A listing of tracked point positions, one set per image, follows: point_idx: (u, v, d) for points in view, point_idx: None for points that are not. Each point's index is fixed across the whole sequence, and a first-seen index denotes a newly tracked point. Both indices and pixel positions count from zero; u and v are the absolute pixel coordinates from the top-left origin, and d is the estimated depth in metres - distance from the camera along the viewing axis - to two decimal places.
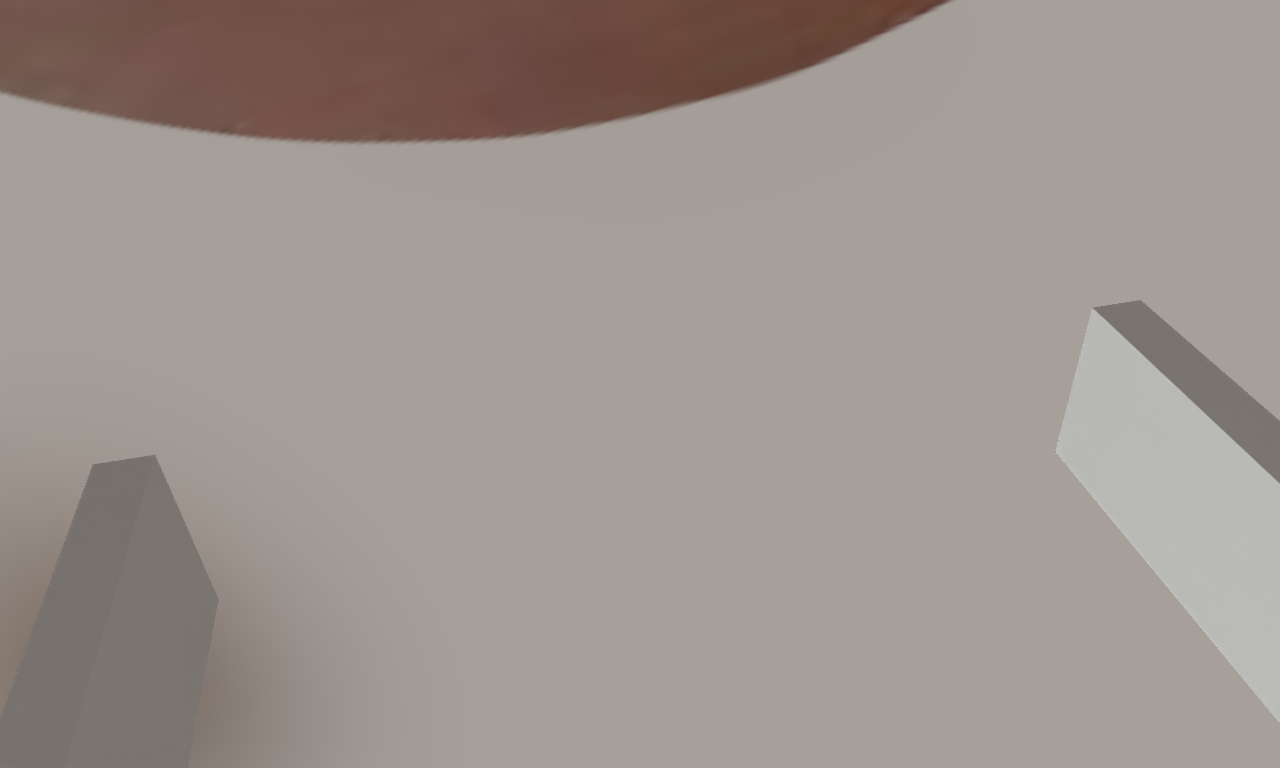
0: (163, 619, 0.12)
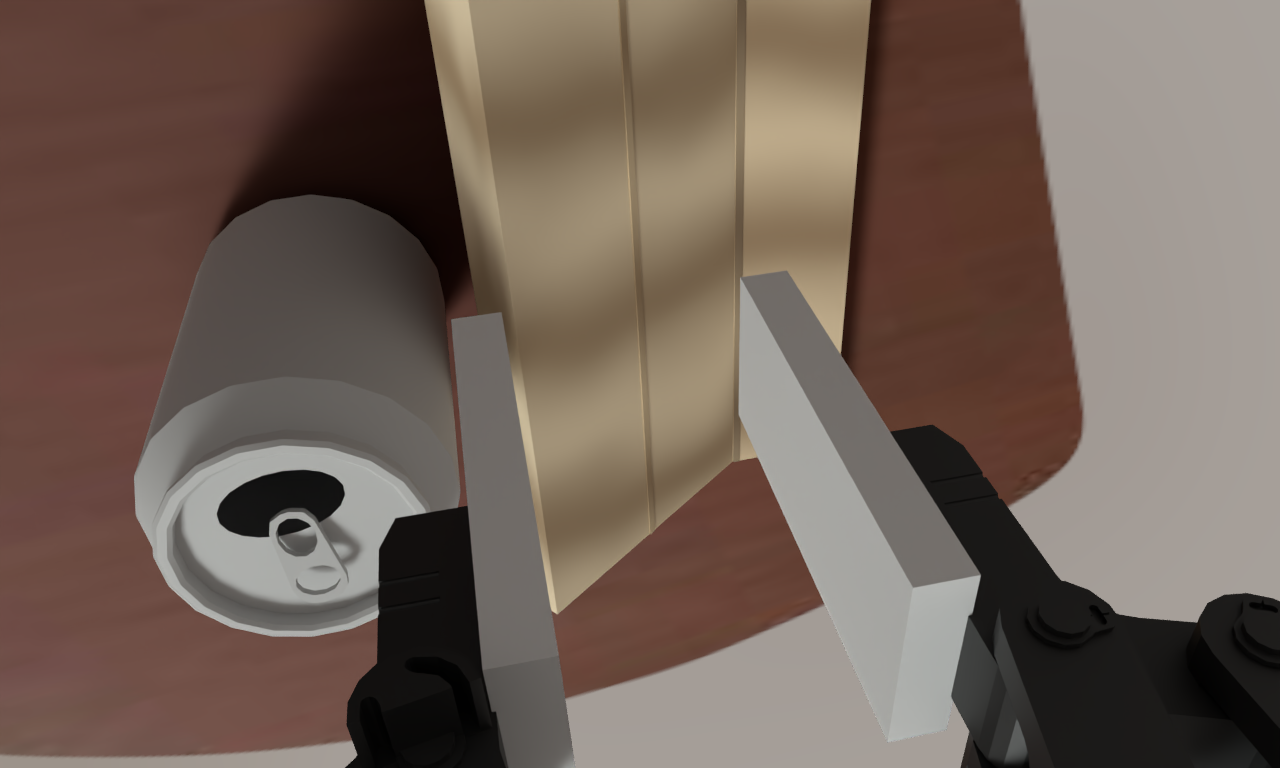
0: None
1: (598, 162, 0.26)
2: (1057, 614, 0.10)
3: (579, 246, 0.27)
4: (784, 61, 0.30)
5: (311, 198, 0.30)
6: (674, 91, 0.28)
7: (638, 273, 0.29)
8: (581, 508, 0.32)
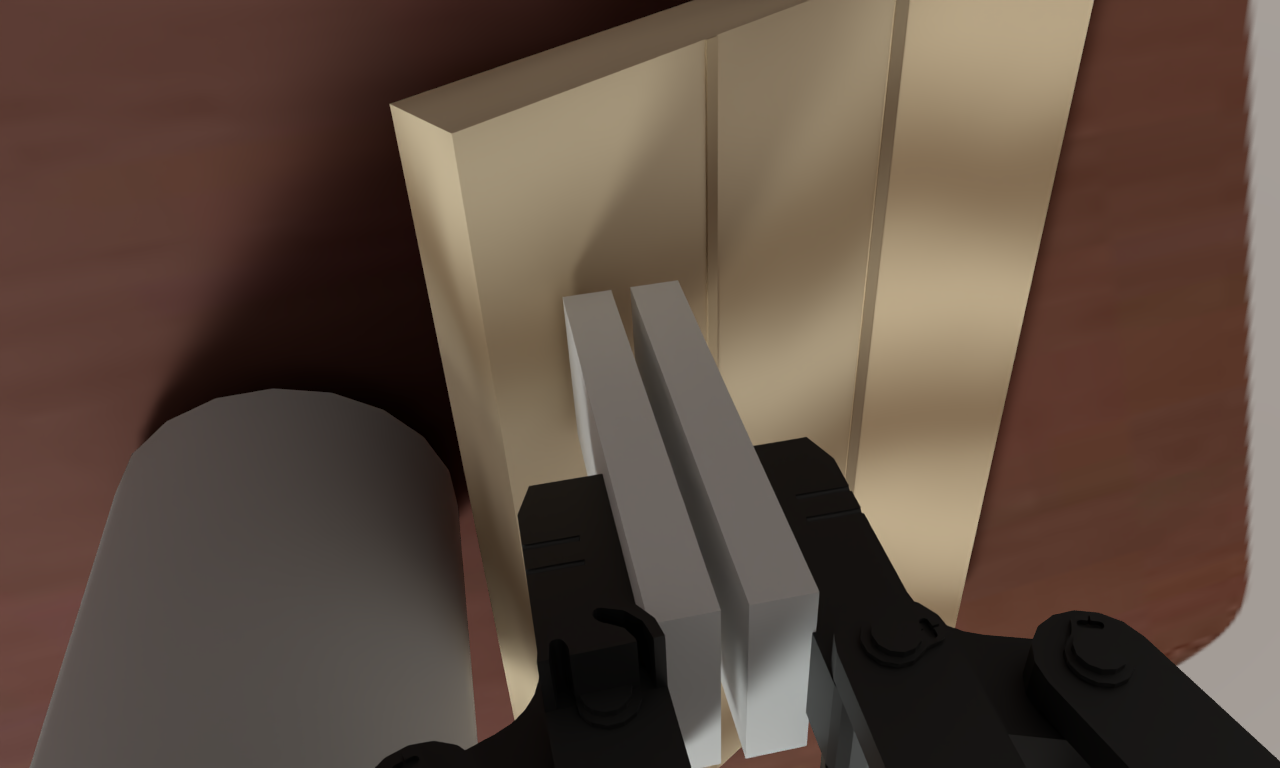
0: None
1: None
2: (889, 633, 0.10)
3: None
4: (939, 204, 0.21)
5: (273, 396, 0.21)
6: (781, 257, 0.19)
7: None
8: None
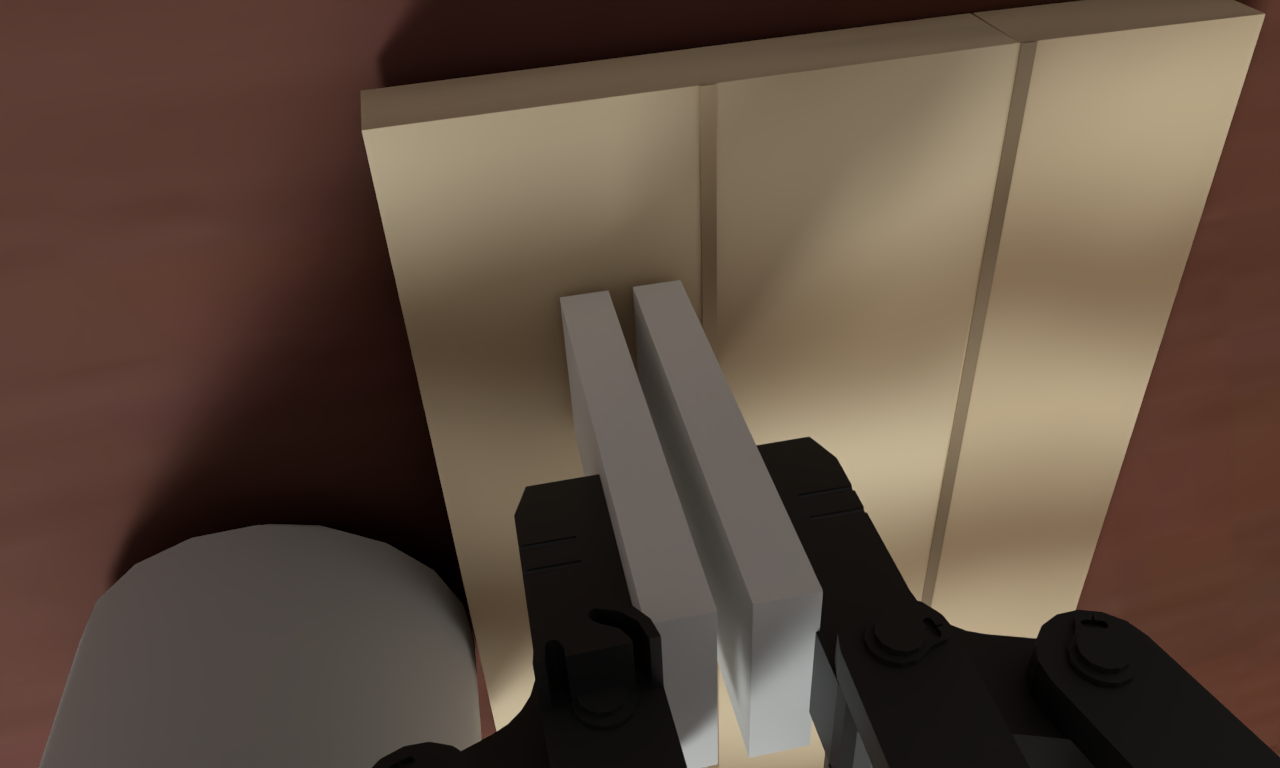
0: None
1: None
2: (893, 632, 0.10)
3: None
4: (1048, 307, 0.18)
5: (257, 535, 0.18)
6: (818, 338, 0.17)
7: None
8: None
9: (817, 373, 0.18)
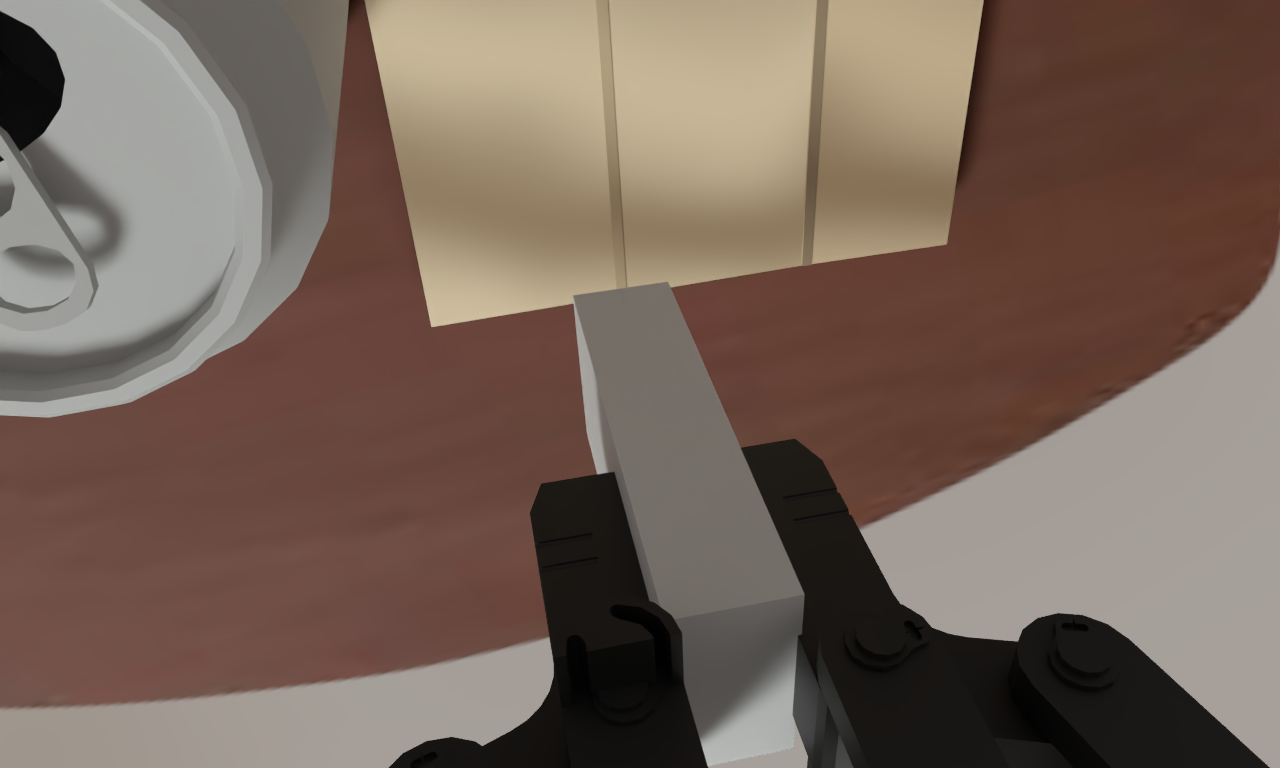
0: None
1: None
2: (874, 636, 0.10)
3: None
4: None
5: None
6: None
7: None
8: (475, 184, 0.23)
9: None
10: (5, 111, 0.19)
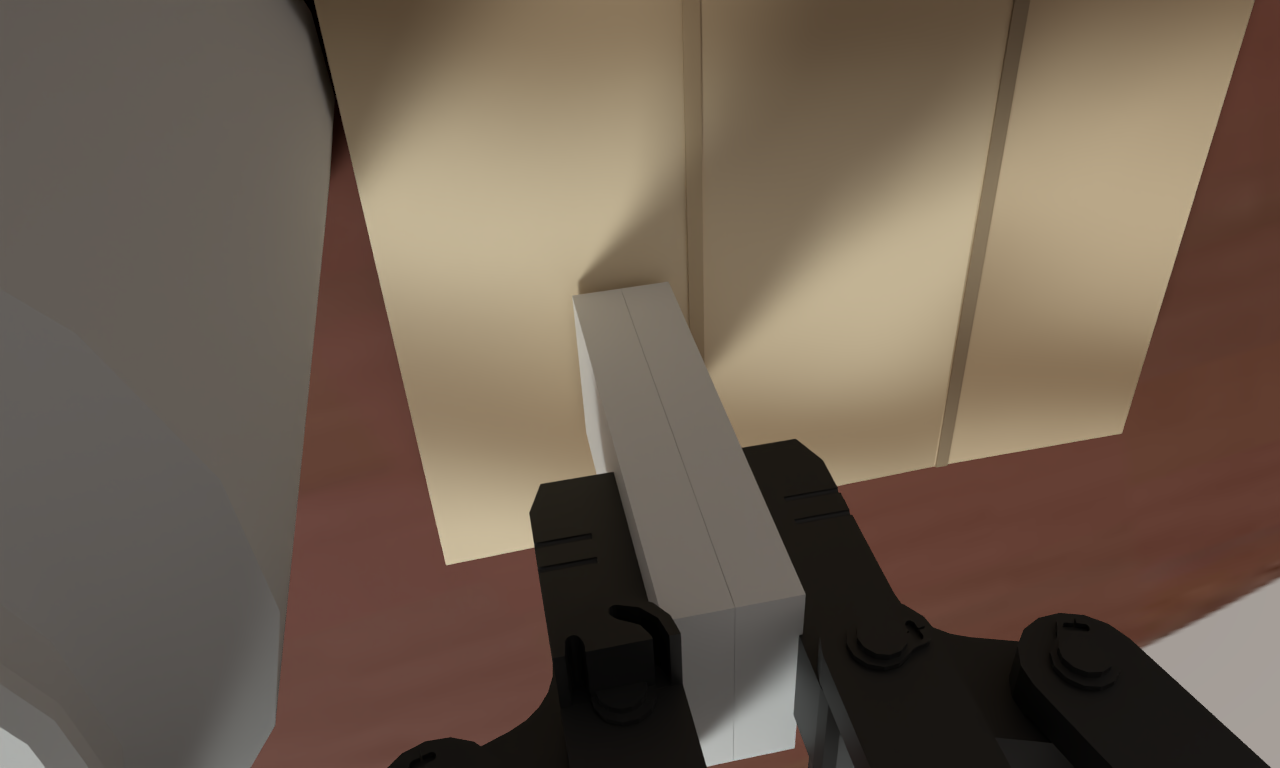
0: None
1: None
2: (875, 635, 0.10)
3: None
4: None
5: None
6: None
7: None
8: (507, 394, 0.16)
9: None
10: None
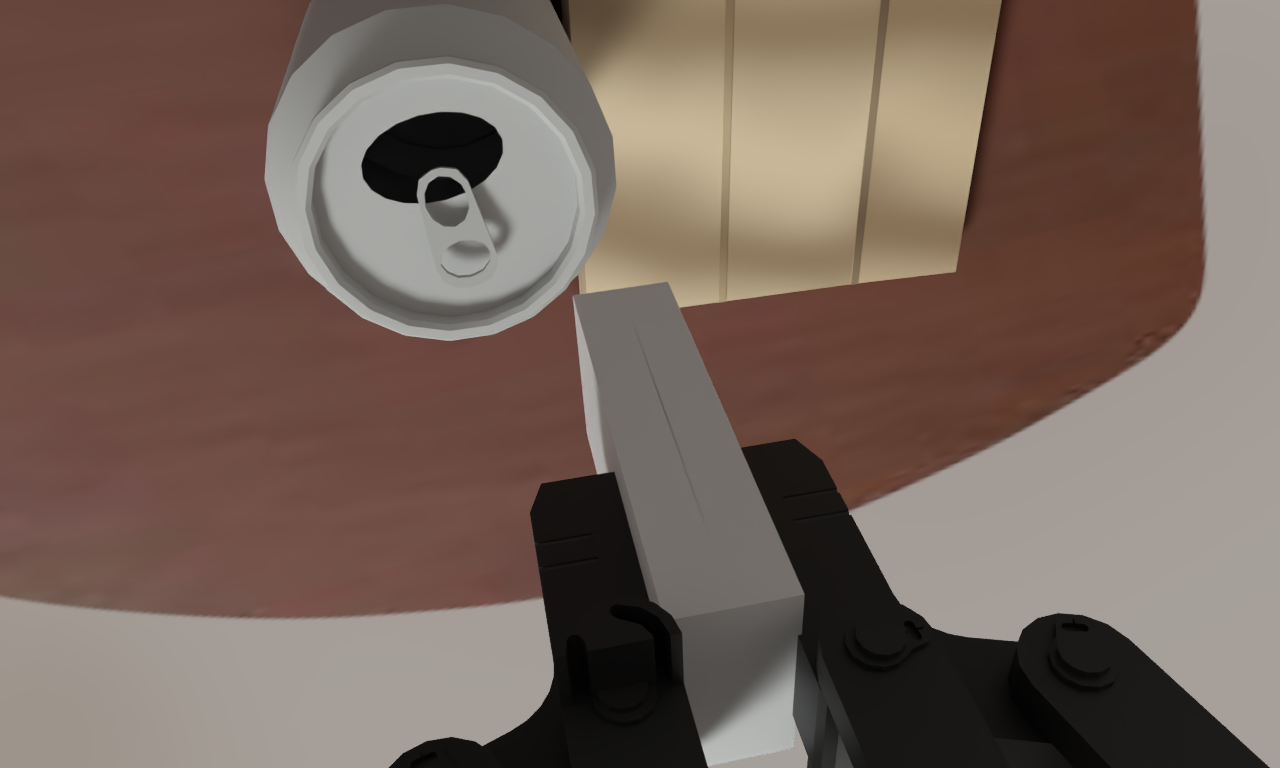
0: None
1: None
2: (874, 636, 0.10)
3: None
4: None
5: None
6: None
7: None
8: (630, 218, 0.33)
9: None
10: None
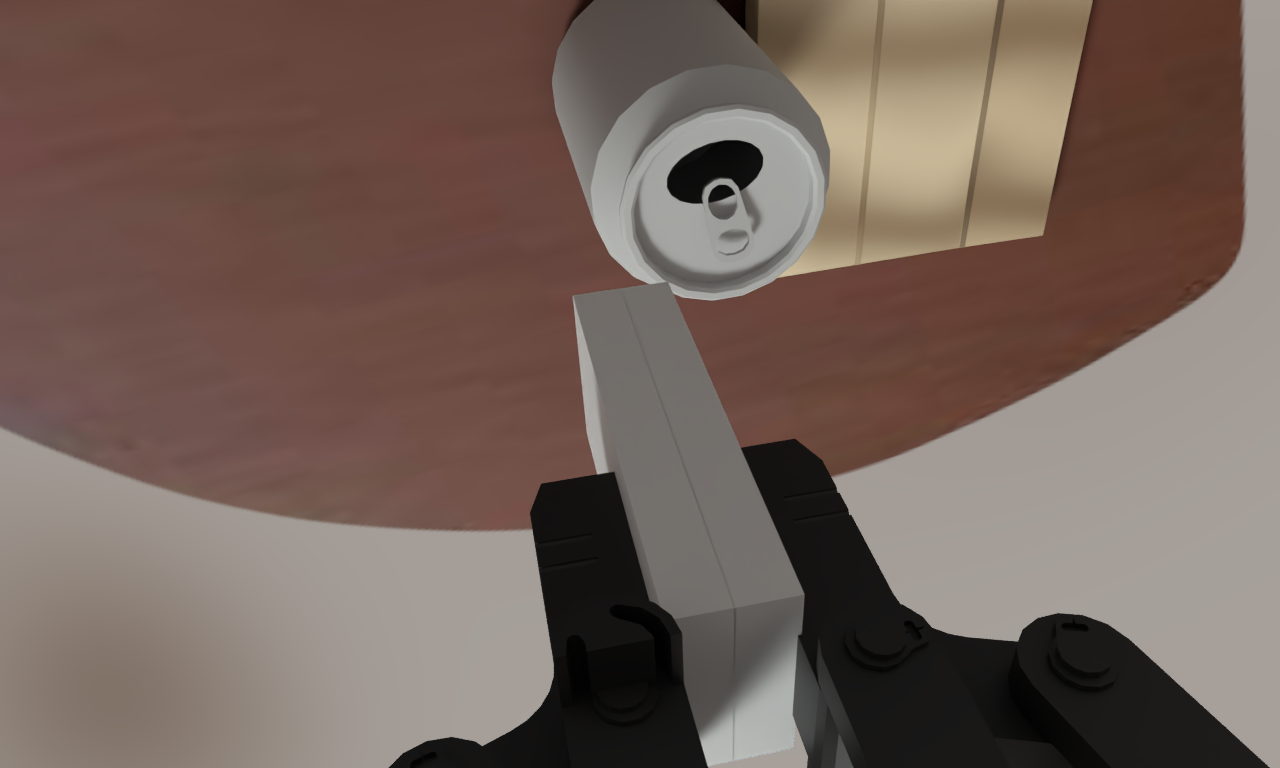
0: None
1: None
2: (874, 636, 0.10)
3: None
4: None
5: None
6: None
7: (881, 19, 0.38)
8: None
9: None
10: None
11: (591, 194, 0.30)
